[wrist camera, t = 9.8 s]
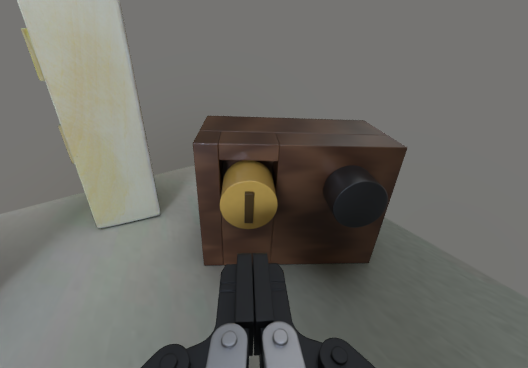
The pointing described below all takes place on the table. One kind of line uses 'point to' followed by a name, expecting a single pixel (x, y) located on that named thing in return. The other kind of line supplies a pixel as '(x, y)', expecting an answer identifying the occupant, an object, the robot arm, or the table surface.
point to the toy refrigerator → (95, 102)
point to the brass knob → (248, 195)
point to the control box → (299, 187)
